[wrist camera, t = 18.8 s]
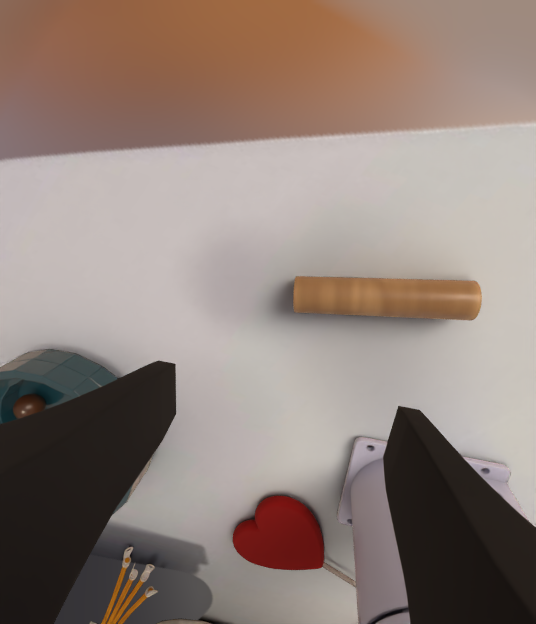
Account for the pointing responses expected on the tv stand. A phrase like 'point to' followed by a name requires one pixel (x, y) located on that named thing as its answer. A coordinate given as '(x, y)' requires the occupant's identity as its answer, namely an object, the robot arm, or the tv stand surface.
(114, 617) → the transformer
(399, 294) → the stirring stick
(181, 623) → the lid
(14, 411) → the hazelnut
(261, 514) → the lollipop
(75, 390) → the bowl
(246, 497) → the tv stand surface
